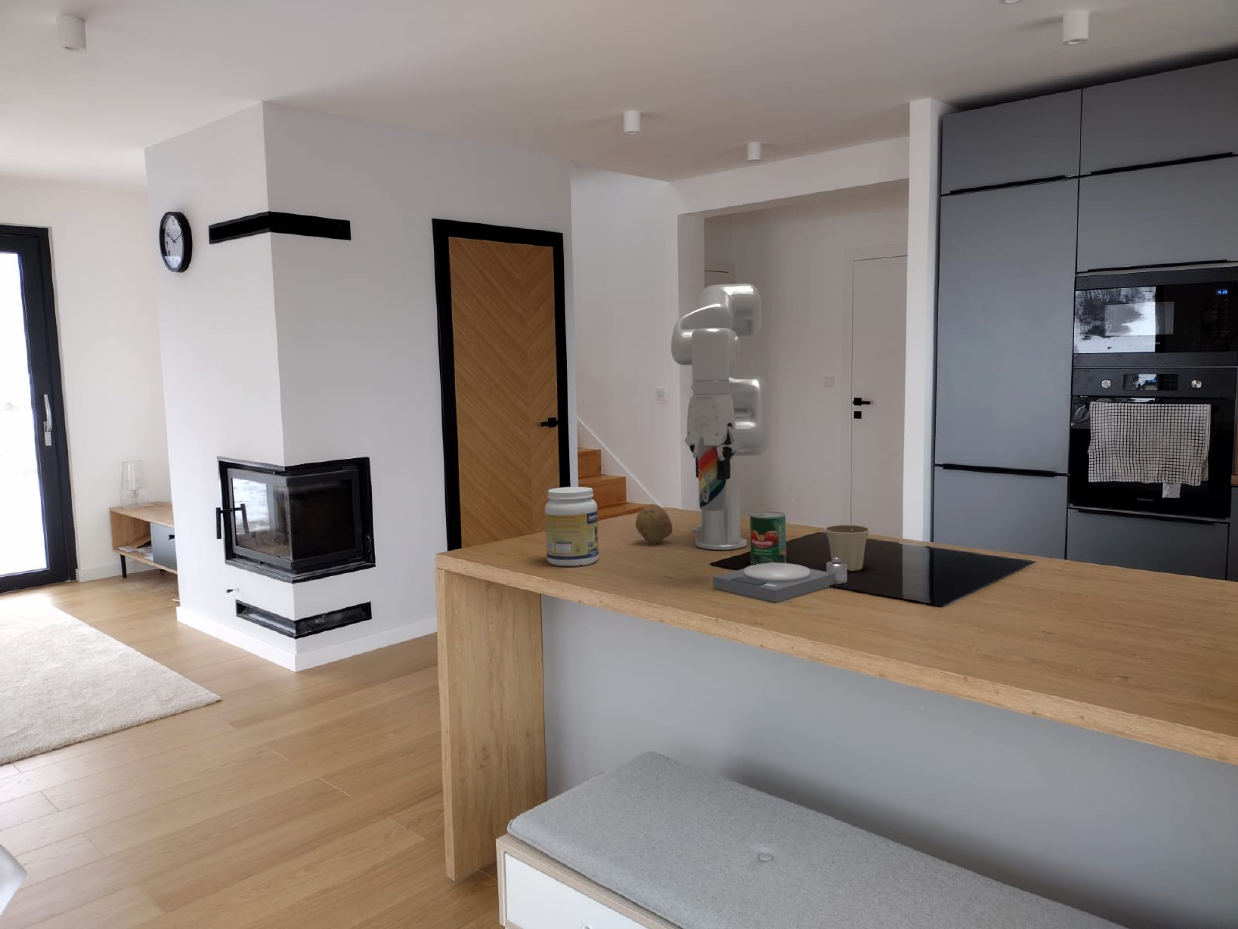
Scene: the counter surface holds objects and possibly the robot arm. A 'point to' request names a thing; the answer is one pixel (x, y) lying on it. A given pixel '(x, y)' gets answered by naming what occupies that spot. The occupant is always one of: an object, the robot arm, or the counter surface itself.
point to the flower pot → (848, 544)
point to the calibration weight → (837, 569)
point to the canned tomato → (768, 537)
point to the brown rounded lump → (653, 523)
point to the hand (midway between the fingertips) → (712, 477)
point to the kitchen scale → (774, 581)
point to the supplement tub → (571, 526)
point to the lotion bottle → (710, 479)
